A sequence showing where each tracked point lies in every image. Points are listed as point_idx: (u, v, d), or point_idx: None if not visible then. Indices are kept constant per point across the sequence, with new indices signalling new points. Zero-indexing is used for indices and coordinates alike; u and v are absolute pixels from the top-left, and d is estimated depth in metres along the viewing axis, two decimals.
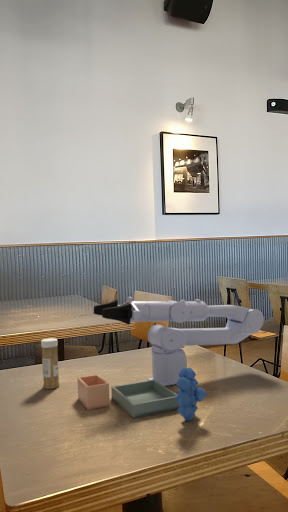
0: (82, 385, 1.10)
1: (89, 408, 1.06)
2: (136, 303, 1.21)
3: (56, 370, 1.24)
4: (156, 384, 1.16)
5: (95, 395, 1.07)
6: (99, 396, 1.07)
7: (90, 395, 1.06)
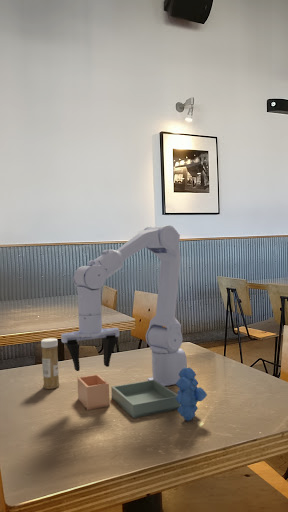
0: (82, 385, 1.10)
1: (89, 408, 1.06)
2: (99, 327, 1.09)
3: (56, 370, 1.24)
4: (156, 384, 1.16)
5: (95, 395, 1.07)
6: (99, 396, 1.07)
7: (90, 395, 1.06)
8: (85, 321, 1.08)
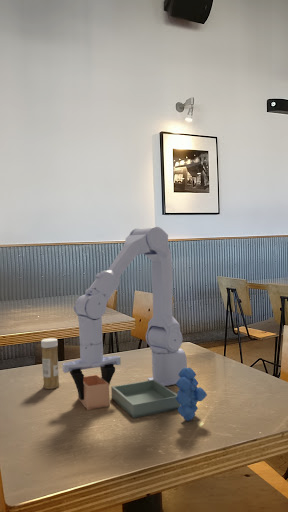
0: None
1: (89, 408, 1.06)
2: (100, 357, 1.10)
3: (56, 370, 1.24)
4: (156, 384, 1.16)
5: (95, 395, 1.07)
6: (99, 396, 1.07)
7: (90, 395, 1.06)
8: (86, 351, 1.08)
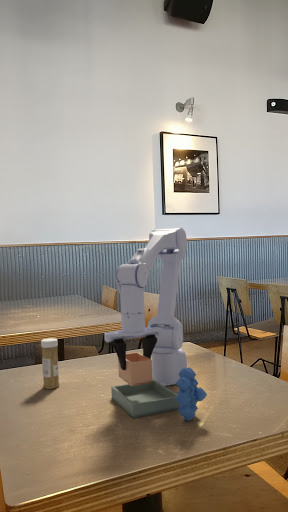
0: None
1: (132, 384, 1.05)
2: (142, 326, 1.08)
3: (56, 370, 1.24)
4: (156, 384, 1.16)
5: (138, 371, 1.05)
6: (142, 372, 1.06)
7: (133, 371, 1.05)
8: (129, 320, 1.06)
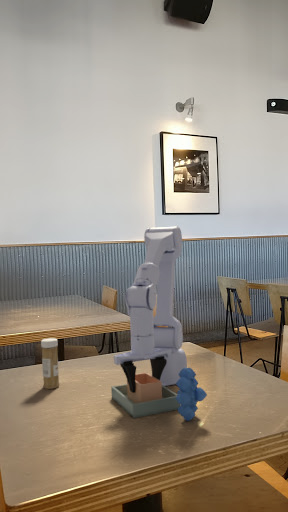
0: None
1: None
2: (152, 349, 1.07)
3: (56, 370, 1.24)
4: None
5: (148, 393, 1.05)
6: (152, 394, 1.05)
7: (143, 393, 1.04)
8: (139, 342, 1.06)
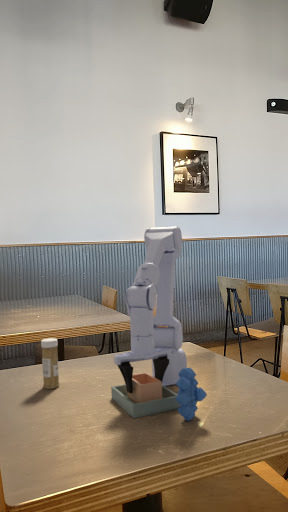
0: (133, 383, 1.08)
1: None
2: (152, 349, 1.07)
3: (56, 370, 1.24)
4: None
5: (148, 393, 1.05)
6: (152, 394, 1.05)
7: (143, 393, 1.04)
8: (139, 342, 1.06)
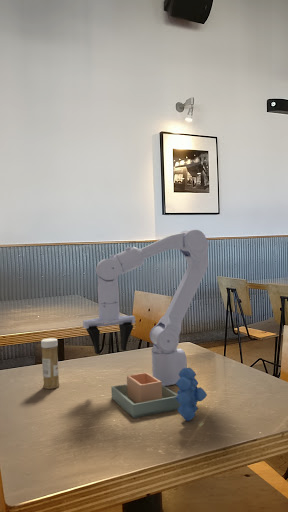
0: (133, 383, 1.08)
1: None
2: (117, 315, 1.21)
3: (56, 370, 1.24)
4: None
5: (148, 393, 1.05)
6: (152, 394, 1.05)
7: (143, 393, 1.04)
8: (105, 309, 1.20)
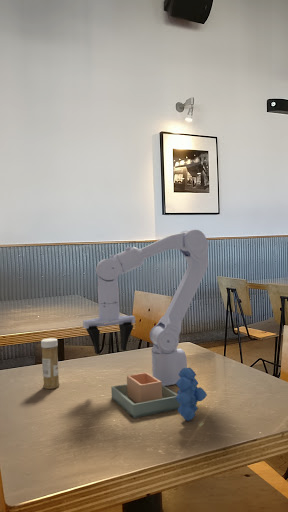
0: (133, 383, 1.08)
1: None
2: (117, 315, 1.21)
3: (56, 370, 1.24)
4: None
5: (148, 393, 1.05)
6: (152, 394, 1.05)
7: (143, 393, 1.04)
8: (105, 309, 1.20)
